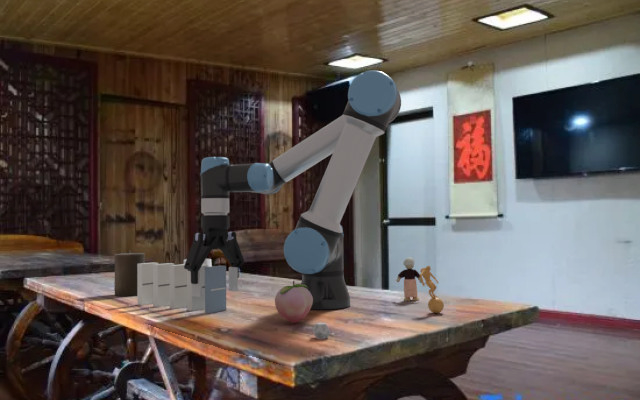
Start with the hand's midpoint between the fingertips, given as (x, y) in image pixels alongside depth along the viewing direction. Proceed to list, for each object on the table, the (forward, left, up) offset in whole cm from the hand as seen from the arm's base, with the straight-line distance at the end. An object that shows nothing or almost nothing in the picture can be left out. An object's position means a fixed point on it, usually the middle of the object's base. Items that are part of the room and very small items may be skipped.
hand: (215, 293), depth 154 cm
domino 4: (+7, 0, -5) cm, 8 cm away
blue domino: (0, 0, -5) cm, 5 cm away
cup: (+26, -18, -5) cm, 32 cm away
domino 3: (+14, 0, -5) cm, 15 cm away
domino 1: (+28, 0, -5) cm, 28 cm away
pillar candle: (+51, -11, -5) cm, 52 cm away
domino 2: (+21, 0, -5) cm, 22 cm away
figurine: (-51, -26, -5) cm, 57 cm away
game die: (-44, +14, -5) cm, 46 cm away
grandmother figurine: (-36, -44, -5) cm, 57 cm away
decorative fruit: (-29, +4, -5) cm, 30 cm away
